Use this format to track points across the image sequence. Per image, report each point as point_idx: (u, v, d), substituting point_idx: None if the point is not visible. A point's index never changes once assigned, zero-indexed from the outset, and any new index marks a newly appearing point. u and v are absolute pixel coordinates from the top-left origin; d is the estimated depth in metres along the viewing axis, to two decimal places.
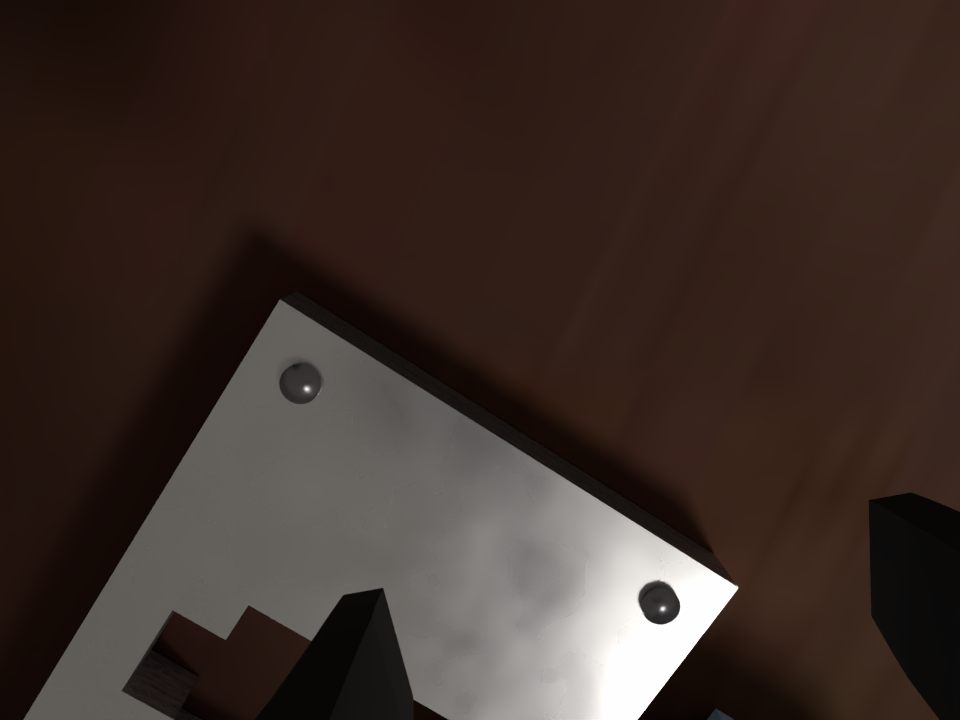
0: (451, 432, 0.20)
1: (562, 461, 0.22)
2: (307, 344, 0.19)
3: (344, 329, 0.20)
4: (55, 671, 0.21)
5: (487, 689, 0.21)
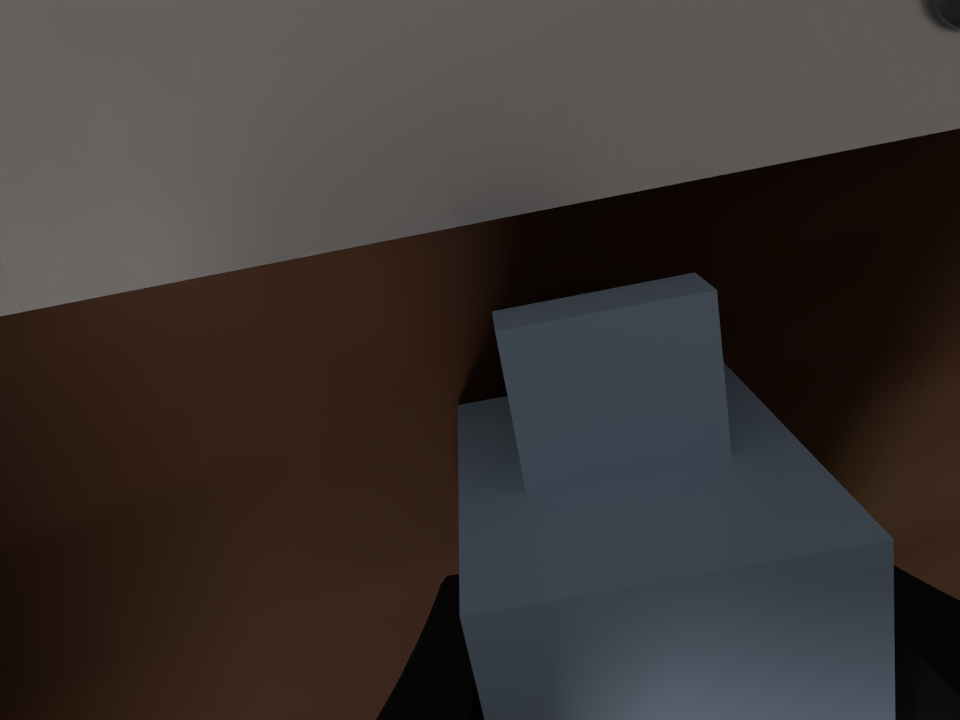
0: None
1: None
2: None
3: None
4: None
5: None
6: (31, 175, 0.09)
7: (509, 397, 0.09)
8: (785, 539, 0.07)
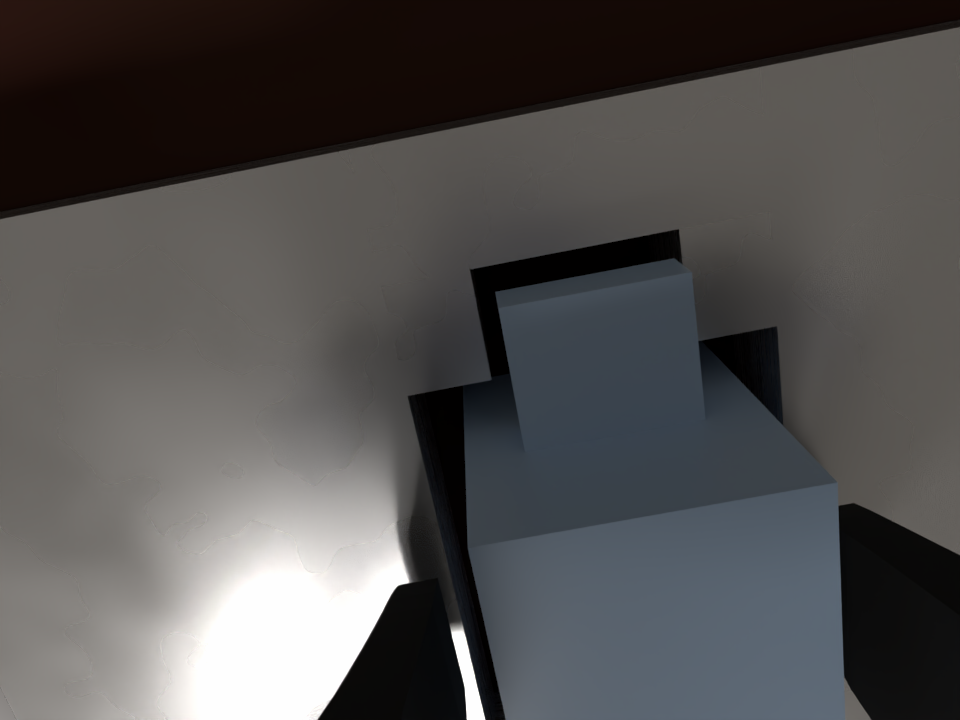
0: None
1: None
2: None
3: None
4: (410, 142, 0.10)
5: None
6: None
7: (510, 366, 0.10)
8: (746, 483, 0.09)
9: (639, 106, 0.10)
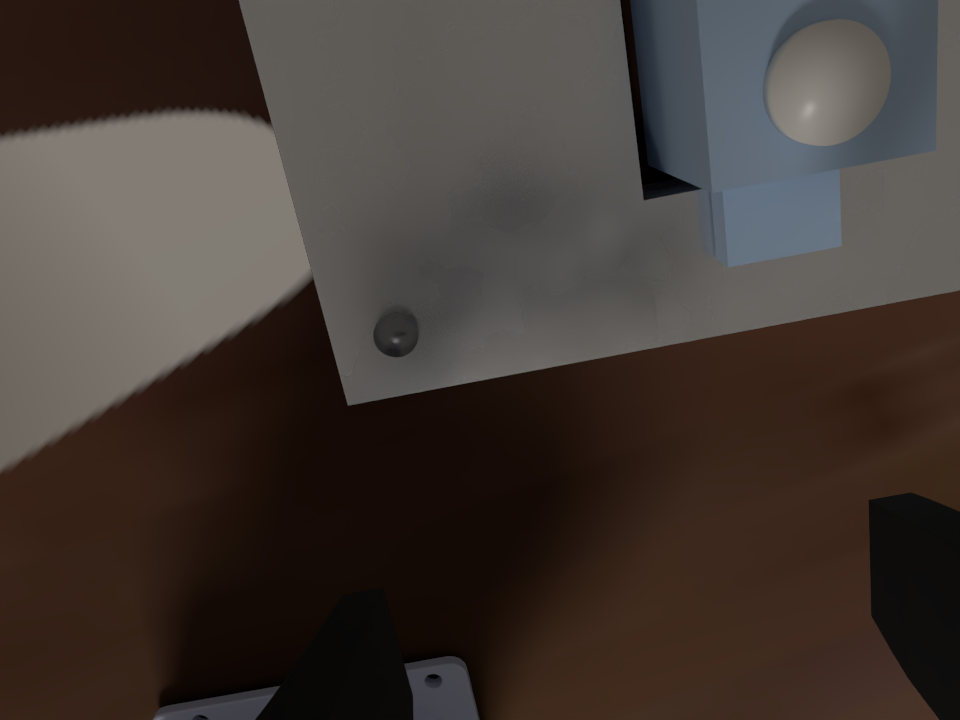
0: None
1: None
2: None
3: None
4: None
5: (947, 114, 0.16)
6: (684, 280, 0.18)
7: None
8: None
9: None
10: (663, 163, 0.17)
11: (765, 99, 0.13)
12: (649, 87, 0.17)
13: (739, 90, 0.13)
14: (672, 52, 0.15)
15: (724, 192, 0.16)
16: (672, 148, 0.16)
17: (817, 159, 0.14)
